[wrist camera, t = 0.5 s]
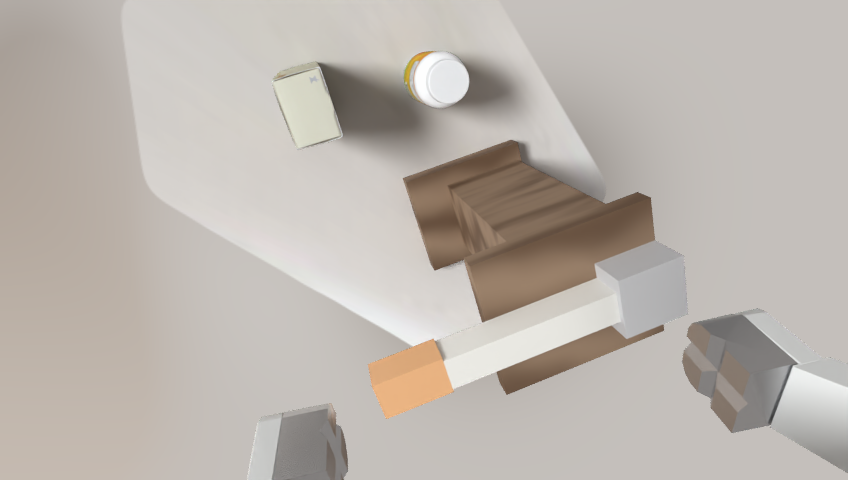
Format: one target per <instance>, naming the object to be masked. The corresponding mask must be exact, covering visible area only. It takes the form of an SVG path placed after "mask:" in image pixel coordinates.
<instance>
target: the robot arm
mask: <svg viewBox="0 0 848 480" xmlns="http://www.w3.org/2000/svg"><path fill="white" fill-rule="evenodd" d="M687 337H688V338H689V339H690V341H691V344H689V346H688V347H687V348H686V349H685V350H684V354H683V360H682V362H683V366H684V370H685V373H686V376H687V377H688V379H689V381H690V383H691V384H692V385H693V387H694V388H695V389H696V390H697V392H700V393H701V394H703V395H705V396H708V397H710V398H711V409H712V410H713V411H714V412H715V413H716V414H717V416H718V417H719V418H720V419H721V421H722V422H723V423H724V424H725V425H726V426H727V428H728V429H729V430H730V431H731V433H734V432H739V431H744V430H749V429H753V428H758V427H763V426H768V425H771V426H770V428H772V429H774V430H776V431H777V432H779V433H781V434H783V435H784V436H786V437H787V438H789V439H791V440H793V441H795V442H796V443H798V444H799V445H801V446H803V447H804V448H806V449H808V450H810V451H811V452H813V453H815V454H816V455H818V456H820V457H821V458H823V459H825V460H827V461H828V462H830V463H831V464H833V465H835V466H837V467H838V468H840V469H842V470H843V471H845V472H847V473H848V364H847V363H844V362H842V361H839V360H836V359H833V358H831V357H829V358H824V359H823V358H822V357H821V356H820V355H818V354H817V353H816V352H815V351H813V350H812V349H811V348H810V347H809V346H807V345H806V344H805V343H804V342H802V341H801V340H800V339H799V338H797V337H796V336H795V335H794V334H793V333H791V332H790V331H789V330H788V329H787V328H785V327H784V326H783V325H782V324H781V323H779V322H778V321H777V320H776V319H774V318H773V317H772V316H771V315H770V314H768V313H767V312H766V311H764V310H761V309H758V308H757V309H753V310H748V311H744V312H740V313H736V314H730V315H725V316H721V317H717V318H712V319H708V320H704V321H699V322H695V323H692V324H691V326H690V327H689V328H688V333H687ZM347 472H348V458H347V450H346V443H345V439H344V434H343V431H342V429H341V427H340V426H338V425H336V412H335V410H334V408H333V405H332V404H324V405H319V406H314V407H308V408H303V409H298V410H293V411H288V412H284V413H279V414H274V415H269V416H264V417H261V418H260V420H259V422H258V424H257V428H256V433H255V439H254V444H253V450H252V455H251V460H250V466H249V471H248V477H247V480H344V479H343V478H344V476H345V475H346V473H347Z"/></svg>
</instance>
